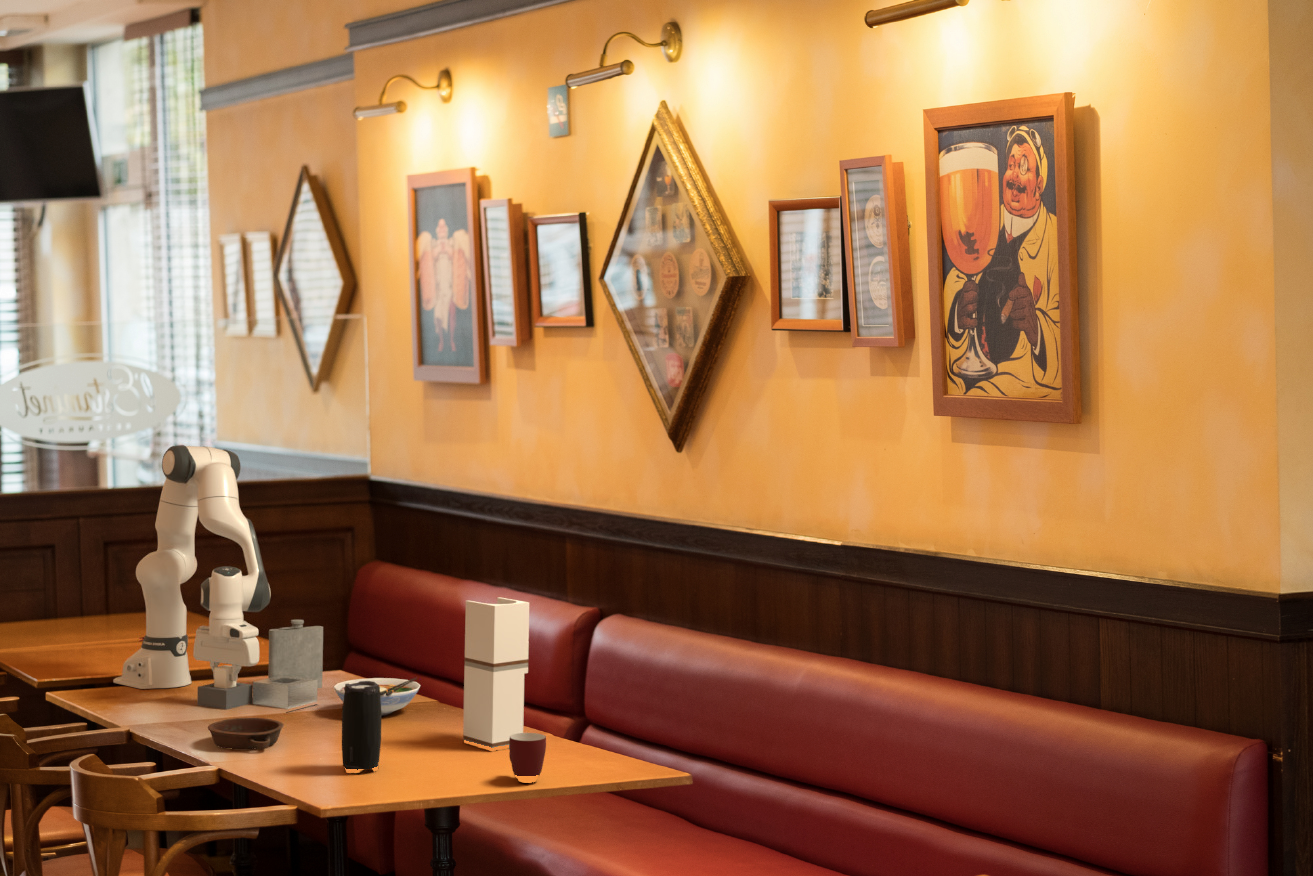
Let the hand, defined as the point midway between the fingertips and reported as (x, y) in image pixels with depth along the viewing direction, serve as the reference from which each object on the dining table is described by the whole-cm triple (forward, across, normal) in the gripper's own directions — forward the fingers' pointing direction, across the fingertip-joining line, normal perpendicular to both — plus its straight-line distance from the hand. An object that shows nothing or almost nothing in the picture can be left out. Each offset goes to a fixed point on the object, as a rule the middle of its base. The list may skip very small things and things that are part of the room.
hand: (225, 679), depth 398 cm
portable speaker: (+8, +72, -35) cm, 80 cm away
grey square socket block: (+8, 0, 0) cm, 8 cm away
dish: (+8, +33, -29) cm, 45 cm away
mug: (+8, +108, -24) cm, 111 cm away
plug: (+7, 0, 0) cm, 7 cm away
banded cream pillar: (+8, +84, +2) cm, 84 cm away
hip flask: (+8, -1, +30) cm, 31 cm away
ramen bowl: (+8, +38, +16) cm, 42 cm away
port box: (+8, +12, +10) cm, 17 cm away
